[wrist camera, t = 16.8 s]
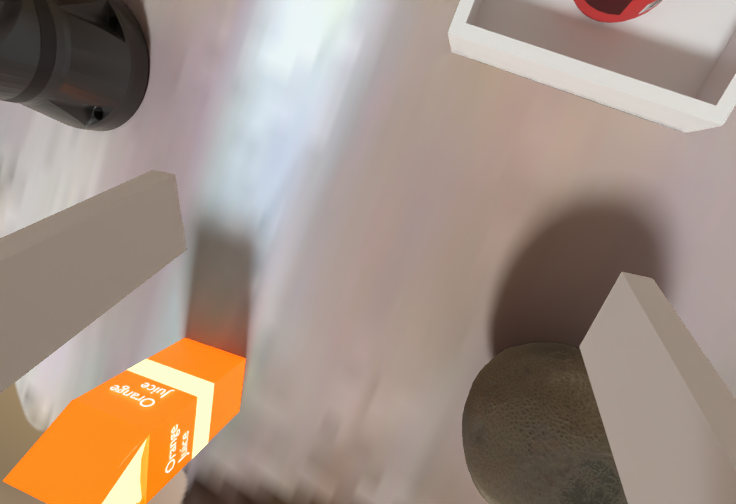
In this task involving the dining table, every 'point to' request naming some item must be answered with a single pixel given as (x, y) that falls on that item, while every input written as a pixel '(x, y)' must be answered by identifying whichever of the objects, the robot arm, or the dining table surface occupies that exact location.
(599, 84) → the tray
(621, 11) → the canned food
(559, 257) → the dining table surface
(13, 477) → the orange juice
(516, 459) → the cantaloupe
